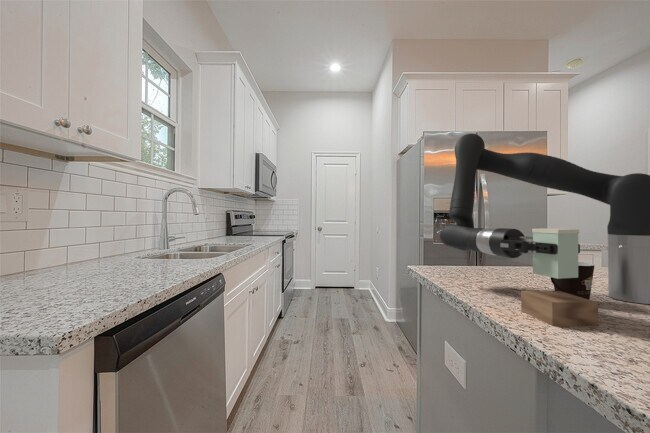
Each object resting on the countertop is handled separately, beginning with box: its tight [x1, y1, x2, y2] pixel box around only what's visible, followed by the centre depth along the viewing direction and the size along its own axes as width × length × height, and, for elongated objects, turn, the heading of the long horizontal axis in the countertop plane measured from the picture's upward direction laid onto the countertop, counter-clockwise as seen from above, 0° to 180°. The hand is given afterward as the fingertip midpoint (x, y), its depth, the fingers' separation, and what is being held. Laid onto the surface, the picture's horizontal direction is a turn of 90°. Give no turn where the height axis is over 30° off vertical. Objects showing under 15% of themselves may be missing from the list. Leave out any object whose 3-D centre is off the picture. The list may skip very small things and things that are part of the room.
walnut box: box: [520, 290, 599, 327], centre depth 59 cm, size 9×9×5 cm
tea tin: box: [531, 228, 580, 279], centre depth 60 cm, size 6×6×10 cm
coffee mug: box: [550, 261, 595, 300], centre depth 72 cm, size 12×9×10 cm
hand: (567, 249), depth 57 cm, fingers closed on tea tin, 5 cm apart
